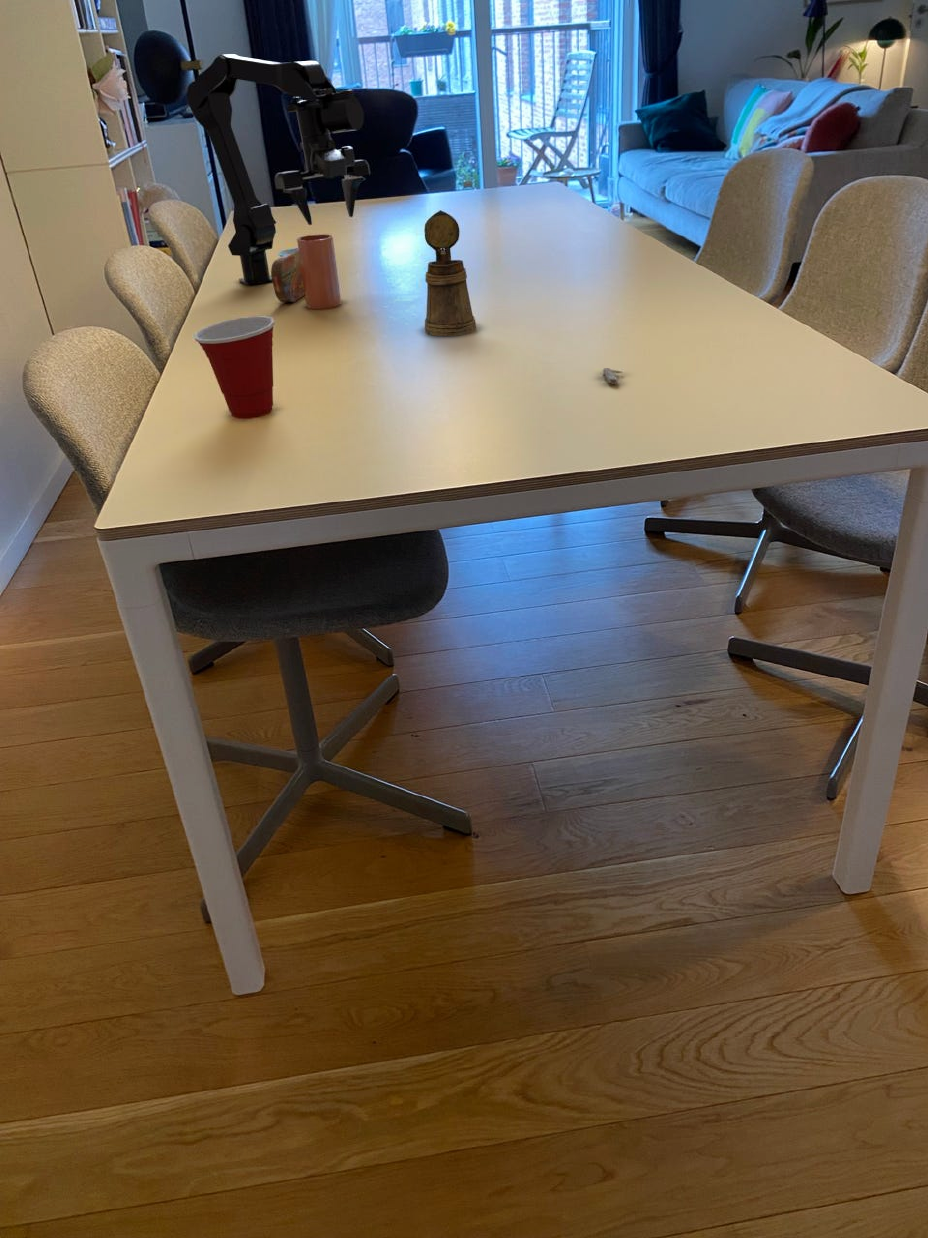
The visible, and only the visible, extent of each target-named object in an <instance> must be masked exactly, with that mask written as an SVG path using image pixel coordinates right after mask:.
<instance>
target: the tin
mask: <svg viewBox="0 0 928 1238" xmlns="http://www.w3.org/2000/svg"><path fill="white" fill-rule="evenodd" d="M270 268H271V269H270V270H271V271H270V276H271V278H272V281H271V282H272V286H273V289H274V294H275V297H276V298H277V300H278V301H279V302H281V303H296V302H297V301H298V300H300V299H301V298H302V297H305V292H304V285H303V279H302V272H301V265H300V258H299V252H298V251H296V252H289V253H287V254H285V255H284V256H282V257H280V256H279V257H278V258H277V259H275V260H274V261H273V262H272V265H271V267H270Z"/></svg>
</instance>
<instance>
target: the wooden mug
mask: <svg viewBox="0 0 928 1238" xmlns="http://www.w3.org/2000/svg"><path fill="white" fill-rule="evenodd" d="M423 231H424V240H425V242H426V244H427V245H428V246H429V247H430V248H431V249H433V251H435V261H429V262H428V263H427V271H426V272H425V281H424V282H426V284H427V293H426V314H425V315H426V316H425V319H424V331H425V333H426V334H428V335H431V336H434V337H455V336H462V335H467V334H470V333H473V332H474V331H476V330H477V324H476V318H475V316H474V313H473V310H472V305H471V300H470V294H469V290H468V283H467V278H468V275H467V270H466V268H465V266H464V261H463V260H461V259H452V252H451V249H452V248H453V247H454V246H455V245H456V244H457V243H458V241H459V239H460V232H461V231H460V226H459V223H458V222H457V220H456V219H455V218H454V216H452V215H450V214H449V213H447V212H445V211H443V210H441V209H440V210H438V211H436V212H435V213H434V214H433V215H431V216H430V217H429V218H428V219H427V220H426V222H425V224H424V230H423Z"/></svg>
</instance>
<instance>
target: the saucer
mask: <svg viewBox="0 0 928 1238" xmlns="http://www.w3.org/2000/svg"><path fill="white" fill-rule="evenodd" d="M296 251H298V247H293V248H288V249H284V250H280V251H278V253H277V255H278V256H279V258H280V257H282V256H284V255H285V254H287V253H289V252H296Z"/></svg>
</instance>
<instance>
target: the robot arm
mask: <svg viewBox="0 0 928 1238" xmlns="http://www.w3.org/2000/svg"><path fill="white" fill-rule="evenodd" d="M238 81H245V82H250V83H257V84H262V85H269V86H273V87H275V88H278V89H279V90H280V91H281V92H283V93H286V94H288V95H290V96H293V97H291V101H290V103H289V104H288V106H287V107H286V109H285V111H286V112H287V113H293V112H296V117H297V123H298V128H299V134H300V137H301V138H300V139H301V142H300V143H299V145H300V150H303V154H304V160H305V165H304V166H303V167H304V171H305V172H301V170H288V171H283V172H277V173H275V176H274V185H275V190H282V193H283V194H288V195H289V196H290V198H291V200H293V202H294V203H295V205H296V207H297V208H298V210H299V211H300V213H301V215H302V216H303V218H304V220H305V222H306V223H307V225H308V226H312V225H313V222H312V221H313V220H312V216H311V210H310V208H309V203H308V199H307V187H303V184H304V183H311V182H316V181H321V180H328V179H332V178H333V179H334V178H339V177H344V178H342V179H341V185H342V190H343V195H344V196H343V197H344V200H345V207H346V210H347V214H348V217H349V218H353V217H354V211H355V204H356V199H357V198H356V197H357V193H358V190H359V187H360V185H361V183H362V182H364V181H365V180H366V177H365V176H370V175H371V168H370V164H369V162H367V160H366V159H355V152H354V149H353V147H352V146H350V145H347V146H342V147H341V148H340V149H337V147H336V144H335V141H334V138H332V137H331V134H338V133H345V132H353V131H359V130H361V129H362V127H363V125H364V121H365V113H364V108H363V107H362V105H361V103H360V101H359V100H358V98H357V97H356V96H355V92H354V91H355V90H354V89H346V90H341V91H339V92H338V90H337V89H336V88H335V86H334V85H333V83H332V82H331V81H330V80H329V79H328V77H327V76H326V73H325V71H324V68H322V65H321V63H319V62H318V61H316V60H305V61H303V60H302V61H292V62H291V61H290V62H277V61H271V60H264V59H258V58H252V57H246V56H245V57H244V56H239V55H238V54H234V53H231V54H230V53H229V54H219V55H217V57H215V59H214V60H213V61H212V63H211V64H210V65H209V66H208V67H207V68H206V69H204V70H203V71H202V72H201V73H200V74H198V76H197V77H196V78H195V79H194V81H191V83H189V84H188V86H187V90H186V92H185V98H186V102H187V105H188V107H189V109H190V111H191V113H192V114H193V117H194V119H195V120H196V121H197V123H199V124H200V126H201V127H202V128H203V129H204V130H205V131H206V132H207V134H208V136H209V139H210V143H211V144H212V148H213V150H214V153H215V155H216V158H217V161H218V165H219V167H220V170H221V173H222V175H223V178H224V181H225V183H226V187H227V189H228V192H229V194H230V197H231V200H232V203H233V215H232V223H233V227H234V230H235V231H234V234H233V236H232V238H231V240H230V241H229V243H228V245H227V248H228V250H229V252H230V254H231V256H236V257H238V256H239V260H240V265H241V271H242V276H243V277H241V278H238V281H239V282H240V283H242V284H244V285H247V286H253V285H258V284H263V283H269V282H273V281H272V278H271V274H270V271H269V264H268V258H267V250H272V249H273V245H274V238H275V236H276V233H277V230H276V224H277V221H276V220H275V218H274V215H273V213H272V209H271V206H270V204H269V203H265V204H262V202H261V201H260V200H259V199H258V198H257V196H256V193H255V190H254V187H253V185H252V182H251V179H250V176H249V174H248V170H247V167H246V164H245V162H244V159H243V156H242V153H241V151H240V148H239V145H238V142H237V139H236V136H235V134H234V130H233V128H232V118H233V117H232V116H233V107H232V101H231V97H232V96H233V94H234V93H235V92H236V90H237V87H238ZM303 99H304V100H303ZM318 101H319V102H318Z"/></svg>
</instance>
